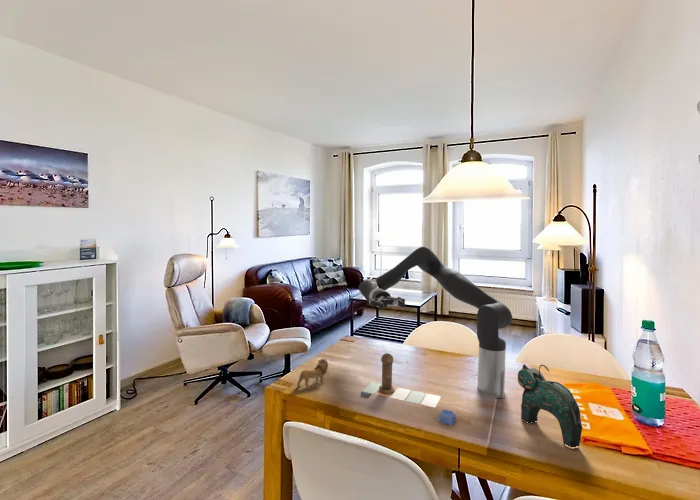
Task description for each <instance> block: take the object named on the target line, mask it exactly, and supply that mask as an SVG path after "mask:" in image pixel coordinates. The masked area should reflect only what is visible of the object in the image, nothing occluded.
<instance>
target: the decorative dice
mask: <svg viewBox="0 0 700 500" xmlns="http://www.w3.org/2000/svg"><path fill="white" fill-rule="evenodd" d="M456 421H457V415H456V413H454V411H452V410H449V409H442V410H441V411H440V412H439V415H438V422H440V423H442V424H445V425H448V426H452V425H453V424H454V423H455V422H456Z"/></svg>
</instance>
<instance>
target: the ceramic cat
mask: <svg viewBox="0 0 700 500" xmlns="http://www.w3.org/2000/svg"><path fill="white" fill-rule="evenodd" d="M541 367H544V368H545V370H546V371H547V372H550V370H549V368H548V367H547V366H546V365H545V364H540V365H539V368H538V369H537V368H533V367H530V368H528V366H527V365H526V364H523V365H522V368H521V369H520V370H519V371H518V373H517V382H518V384H519V386H520V387H521V388H523V393H522V397H521V404H520V408H521V409H520V410H521V414H520V420H521V419H523V420H524V421H526V422H528V423H531V422H535V421H537V422H538V414H539V412H540V411H541V410H542V411H546V412H548V413H550V414H551V415H552V416H554V418H555V419H556V420H557V422H558V424H559V427H560V430H561V436H562V442H563V443H564V444H566V445H568V446H570V447H576V446H579V447H580V445H581V444H580V443H581V438H582V432H583V424H582V419H581V418H582V417H581V411H580V407H579V404H578V403H577V400H576V399H575V397H574V395H573V393H572V392H571V391H570V389H568V388H567V387H566V386H565V385H563V384H561V383H560V382H559V381H551V380H548V379H547V380H546V377H544V375H543V374H542V373H541ZM523 420H522V421H523ZM524 421H523V422H524ZM526 422H525V423H526ZM528 423H527V424H528ZM563 443H562V444H563Z"/></svg>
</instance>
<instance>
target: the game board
mask: <svg viewBox="0 0 700 500" xmlns="http://www.w3.org/2000/svg"><path fill="white" fill-rule="evenodd" d="M381 385H382V383H378V382H374V381H370V382H369V384H368V385H366V387H365V388H363V390H362V391H360V395H361V396H362V397H366V398H370V397H371V396H372V395H376V396H381V397H384V398H391V399H395V400H398V401H405V402H408V403H412V404H417V405H421V406H425V407H430V408H434V409H435V408H436V407H437V405H438V403H439V402H440V399H441V397H442V396H440V395H436V394H430V393H426V392H421V391H417V390H411V389H408V388H402V387H397V386H393V387H394V393H392V394H383V393H381V392H380V391H379V387H380V386H381Z"/></svg>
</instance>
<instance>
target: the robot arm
mask: <svg viewBox="0 0 700 500" xmlns="http://www.w3.org/2000/svg"><path fill="white" fill-rule="evenodd" d="M415 267H418V268H419V269H420V270H422V271H423V272H425V273H426V274H428V275H429V276H431V277H433V278H434V279H435V280H437V282H438V283H439V285H440V286H441V287H442V288H443V289H444V290H445V291H446V292H447V293H449V294H450V295H451V296H452V297H453V298H455V299H456V300H458V301H460V302H463V303H465V304H468V305H469V306H472V307H474V308H477V313H476V335H477V336H476V338H477V341H478V363H477V365H478V366H477V370H478V371H477V389H478V391H480V392H481V393H484V394H487V395H493V396H495V399H499V398H500V399H504V396H505V385H506V352H507V351H506V350H507V349H506V347H507V344H506V340H505V339H503V338H501V337H499V335H500V334H499V330H500V329H504V328H506V327H509V326H510V325H511V324H512V322H513V314H512V311H511V310H510V309H509V307H508V306H507V305H505V304H504V303H502V302H501V301H499V300H497V299H496V298H494V297H493V296H491V295H489V294H488V293H487V292H485V291H484V290H482V289H481V288H480V287H479V286H477V285H476V284H475V283H473V282H472V281H471V280H469V279H468V278H467V277H466V276H464V275H463V274H462V273H460V272H459V271H457V270H455V269H453V268H450V267H448V266H447V265H446V264H445V263H443V262H442V260H441V259H439V257H438V256H437V255H436V254H435V253H434V251H432V250H431V248H429V246H428V247H427V246H424V245H423V246H419V247H418V248H417V249H414V251H412V252H411V253H410V254H409V255H407V256H406V257H405V258H404V259H402V261H400V262H399V263H398V264H397V265H395V266H394V267H393V268H391V269H390V270H388V271H387V272H384V273H383V274H381V275H380V276H378V277H377V278H376V279H375V280H376V281H375V282H376V284H374V283H373V282H372V281H371V280H363V281H362V282H360V284H359V285H358V290H359V292H360V294H361V295H362V296H363V298H364V299H365V300H366V301H367V302H369V304H368V305H370V306H371V307H373V308H375V307H376V308H379V309H383V310H384V309H385V308H388V307H390V306H391V307H397V306H398V307H400V308H405V305H406V299H405V298H403V297H400V296H397V297H394V296H391V294H390V293H389V292H388V291H387V290H389V289H390V288H392V287H394V286H395V285H396V284H399V282H400V281H401V280H402V279H403V277H404V276H405V274H406V273H407V272H408V271H409V270H411V269H412V268H415Z"/></svg>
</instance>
